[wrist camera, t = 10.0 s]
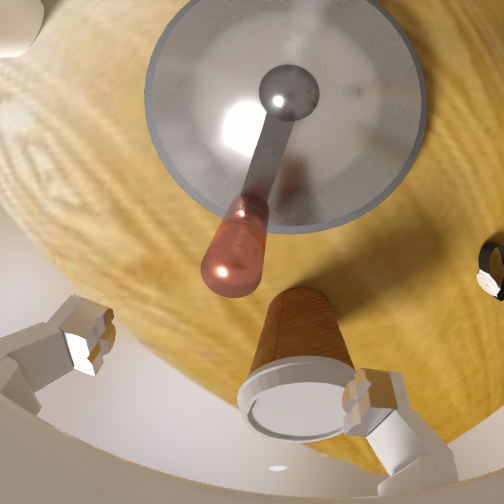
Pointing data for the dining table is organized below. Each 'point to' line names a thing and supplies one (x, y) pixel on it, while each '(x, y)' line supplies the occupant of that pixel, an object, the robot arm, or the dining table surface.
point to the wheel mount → (271, 228)
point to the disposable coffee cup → (297, 371)
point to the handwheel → (282, 117)
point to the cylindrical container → (19, 25)
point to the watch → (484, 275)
